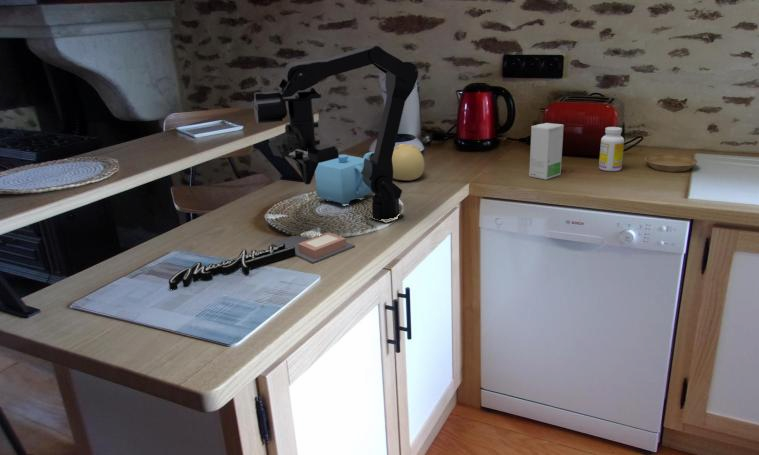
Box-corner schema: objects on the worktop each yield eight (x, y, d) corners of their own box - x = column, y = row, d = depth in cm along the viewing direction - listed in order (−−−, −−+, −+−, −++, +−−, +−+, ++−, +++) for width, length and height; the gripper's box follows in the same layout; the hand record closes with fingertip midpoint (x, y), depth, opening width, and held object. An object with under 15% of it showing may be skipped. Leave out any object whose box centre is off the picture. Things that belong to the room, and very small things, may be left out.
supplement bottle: (622, 167, 183) (626, 126, 178) (619, 172, 177) (624, 131, 173) (600, 165, 186) (603, 125, 181) (596, 171, 180) (600, 129, 176)
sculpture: (416, 171, 189) (415, 138, 186) (430, 180, 179) (429, 146, 175) (382, 175, 186) (381, 142, 182) (394, 185, 176) (393, 150, 172)
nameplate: (175, 290, 113) (160, 273, 121) (176, 297, 114) (162, 279, 121) (300, 250, 127) (280, 238, 135) (301, 257, 128) (281, 244, 135)
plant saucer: (645, 173, 177) (646, 164, 176) (641, 160, 190) (642, 152, 189) (700, 175, 172) (701, 166, 171) (692, 162, 185) (693, 154, 184)
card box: (329, 231, 136) (345, 238, 132) (329, 240, 136) (346, 246, 132) (297, 243, 130) (314, 250, 126) (298, 251, 131) (315, 259, 127)
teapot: (349, 211, 156) (346, 164, 152) (311, 200, 166) (307, 156, 162) (393, 193, 168) (392, 150, 164) (355, 184, 178) (353, 143, 174)
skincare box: (545, 180, 173) (549, 128, 168) (527, 176, 178) (529, 126, 172) (561, 174, 178) (565, 124, 173) (543, 170, 183) (546, 121, 178)
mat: (312, 230, 144) (311, 228, 144) (354, 246, 133) (354, 245, 133) (271, 245, 136) (271, 243, 136) (313, 263, 125) (313, 262, 125)
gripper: (249, 120, 135) (257, 184, 141) (297, 130, 122) (304, 200, 128) (288, 113, 142) (295, 174, 148) (337, 121, 129) (342, 188, 135)
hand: (307, 184), depth 140 cm, fingers closed
